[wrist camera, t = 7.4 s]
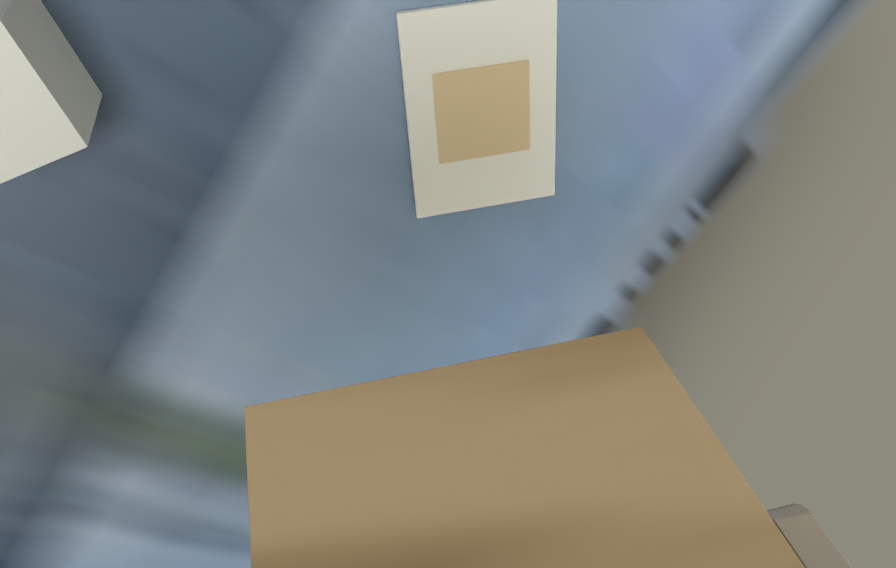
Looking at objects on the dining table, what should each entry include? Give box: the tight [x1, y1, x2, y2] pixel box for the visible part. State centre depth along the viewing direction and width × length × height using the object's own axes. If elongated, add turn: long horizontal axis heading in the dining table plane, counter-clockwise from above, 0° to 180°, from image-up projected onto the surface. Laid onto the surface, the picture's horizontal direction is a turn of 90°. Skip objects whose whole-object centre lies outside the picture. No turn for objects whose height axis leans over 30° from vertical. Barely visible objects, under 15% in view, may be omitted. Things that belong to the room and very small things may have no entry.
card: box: [396, 0, 557, 219], centre depth 38 cm, size 10×7×1 cm
